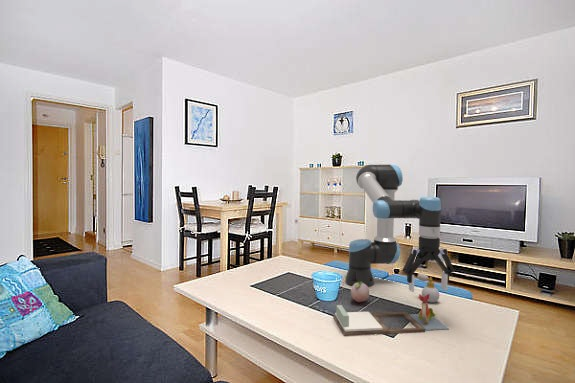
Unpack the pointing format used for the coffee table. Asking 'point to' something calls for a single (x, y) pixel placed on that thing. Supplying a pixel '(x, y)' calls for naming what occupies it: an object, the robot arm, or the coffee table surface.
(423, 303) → the bird rattle
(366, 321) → the sliding cover
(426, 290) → the perfume bottle
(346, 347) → the coffee table surface
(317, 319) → the coffee table surface
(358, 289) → the decorative fruit
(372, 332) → the puzzle board
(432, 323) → the slate mat
